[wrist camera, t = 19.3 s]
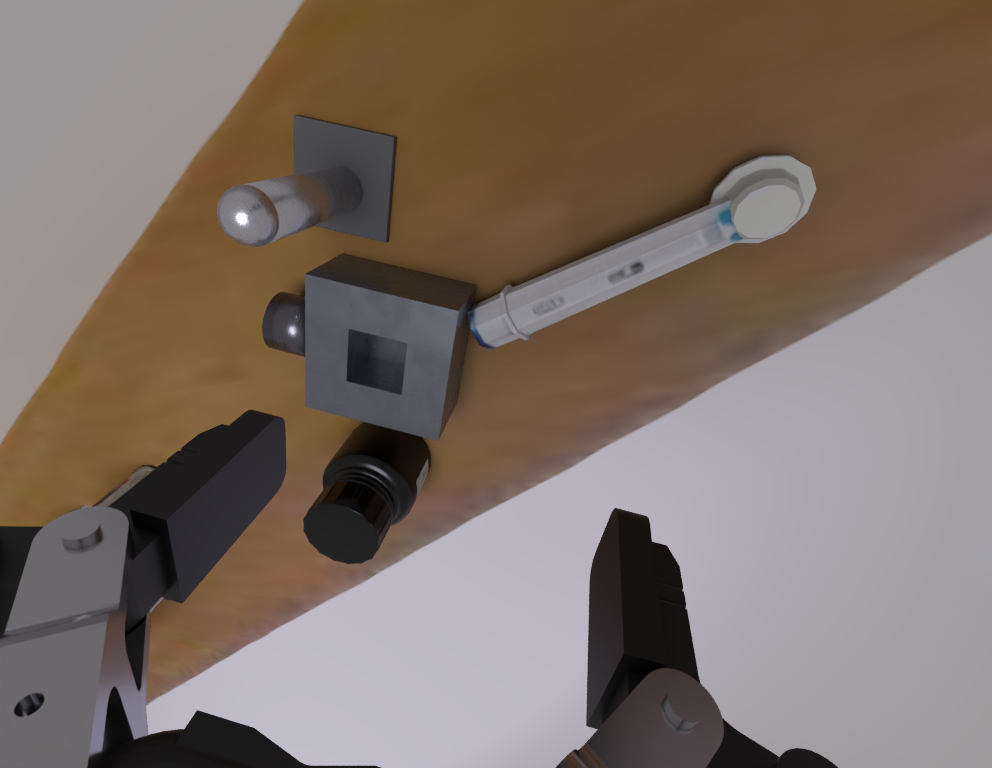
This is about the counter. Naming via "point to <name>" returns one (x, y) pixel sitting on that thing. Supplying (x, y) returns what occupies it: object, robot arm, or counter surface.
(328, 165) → the key rest mat
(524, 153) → the counter surface
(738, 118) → the counter surface
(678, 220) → the white elongated piece
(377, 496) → the ink bottle
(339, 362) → the block
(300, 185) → the grey metal cylinder
